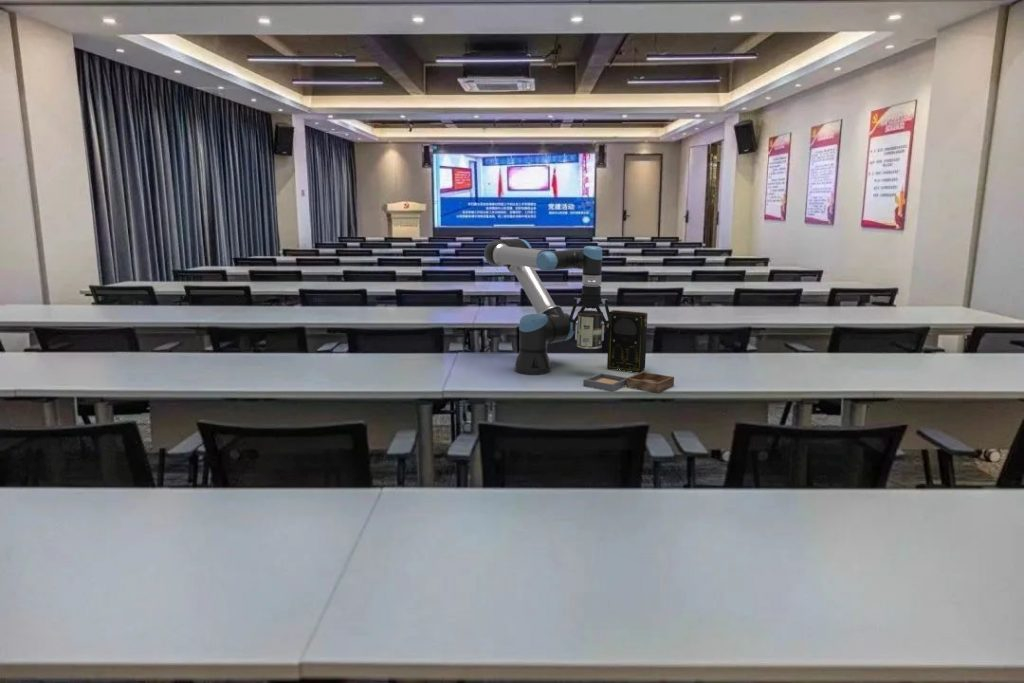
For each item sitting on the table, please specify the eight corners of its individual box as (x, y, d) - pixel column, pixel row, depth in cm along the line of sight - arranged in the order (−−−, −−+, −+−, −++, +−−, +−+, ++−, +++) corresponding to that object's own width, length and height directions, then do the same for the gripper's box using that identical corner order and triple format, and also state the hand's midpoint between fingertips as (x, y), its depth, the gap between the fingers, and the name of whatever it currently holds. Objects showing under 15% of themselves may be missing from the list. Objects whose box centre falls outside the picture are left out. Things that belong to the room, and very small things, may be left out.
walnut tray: (625, 387, 264) (626, 378, 263) (642, 380, 274) (642, 371, 273) (658, 393, 256) (658, 384, 255) (673, 385, 266) (674, 376, 265)
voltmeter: (605, 369, 291) (607, 311, 286) (612, 365, 298) (614, 308, 293) (641, 374, 283) (643, 314, 278) (647, 369, 291) (649, 311, 286)
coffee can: (599, 343, 286) (600, 310, 283) (604, 349, 276) (605, 314, 273) (574, 343, 285) (575, 310, 282) (578, 349, 275) (579, 314, 272)
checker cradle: (583, 385, 265) (583, 379, 265) (600, 379, 275) (600, 373, 275) (612, 391, 257) (613, 385, 257) (629, 384, 267) (629, 378, 267)
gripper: (562, 285, 273) (561, 340, 278) (620, 287, 270) (617, 342, 275) (563, 283, 280) (562, 336, 285) (619, 285, 277) (617, 338, 282)
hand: (589, 339), depth 280 cm, fingers closed on coffee can, 10 cm apart
